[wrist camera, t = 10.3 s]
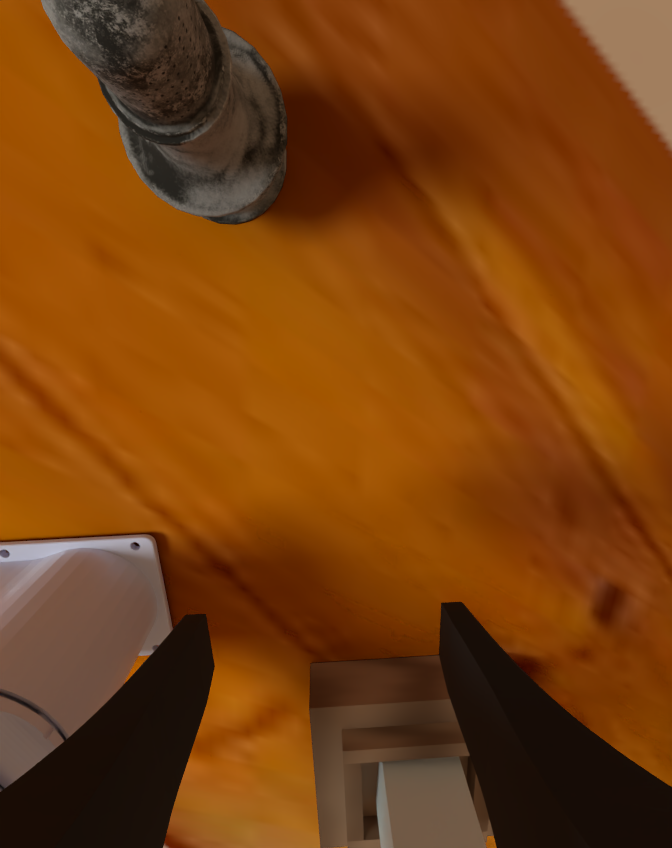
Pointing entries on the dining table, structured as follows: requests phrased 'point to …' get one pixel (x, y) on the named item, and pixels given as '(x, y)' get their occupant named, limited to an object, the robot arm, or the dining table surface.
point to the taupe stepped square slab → (378, 738)
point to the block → (426, 805)
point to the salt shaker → (184, 101)
